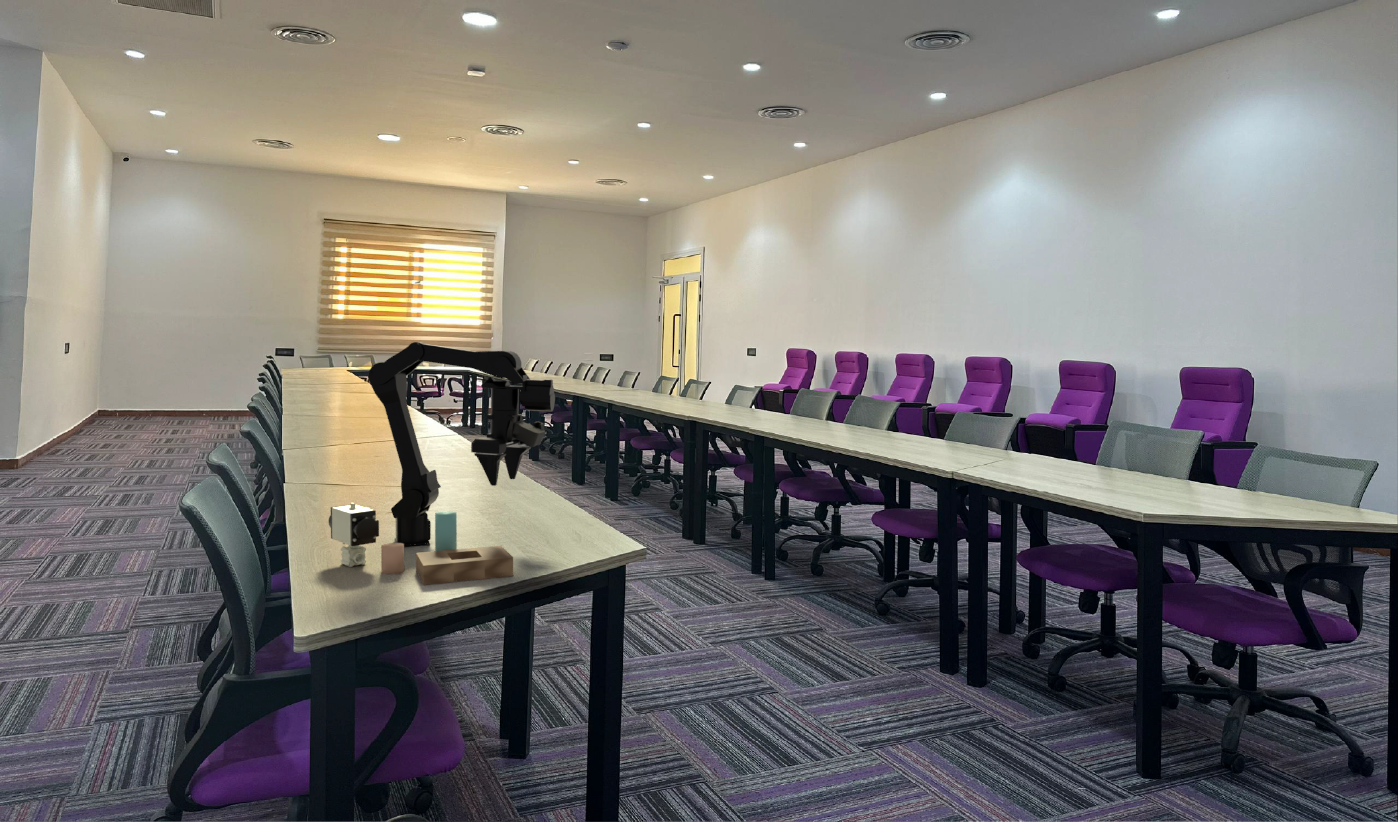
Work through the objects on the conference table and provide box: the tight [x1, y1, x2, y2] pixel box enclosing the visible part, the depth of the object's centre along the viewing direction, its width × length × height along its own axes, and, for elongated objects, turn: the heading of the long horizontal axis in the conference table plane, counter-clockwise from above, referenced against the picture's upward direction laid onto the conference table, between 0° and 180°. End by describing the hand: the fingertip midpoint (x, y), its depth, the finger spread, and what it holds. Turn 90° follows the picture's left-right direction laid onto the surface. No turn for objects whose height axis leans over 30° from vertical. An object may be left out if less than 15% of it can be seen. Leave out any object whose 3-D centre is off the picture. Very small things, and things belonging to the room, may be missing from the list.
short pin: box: [380, 542, 405, 575], centre depth 155 cm, size 4×4×5 cm
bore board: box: [415, 545, 514, 586], centre depth 154 cm, size 16×10×4 cm, turn 116°
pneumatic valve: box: [328, 502, 380, 568], centre depth 159 cm, size 6×12×12 cm, turn 48°
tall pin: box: [434, 510, 458, 551], centre depth 161 cm, size 4×4×10 cm
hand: (503, 482), depth 176 cm, fingers open, 9 cm apart
